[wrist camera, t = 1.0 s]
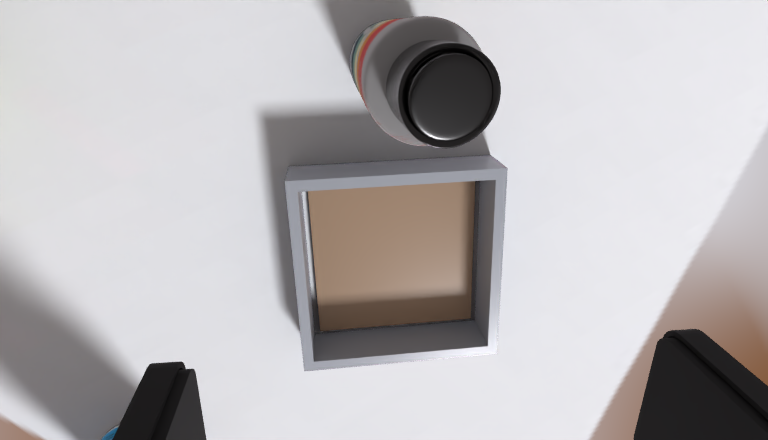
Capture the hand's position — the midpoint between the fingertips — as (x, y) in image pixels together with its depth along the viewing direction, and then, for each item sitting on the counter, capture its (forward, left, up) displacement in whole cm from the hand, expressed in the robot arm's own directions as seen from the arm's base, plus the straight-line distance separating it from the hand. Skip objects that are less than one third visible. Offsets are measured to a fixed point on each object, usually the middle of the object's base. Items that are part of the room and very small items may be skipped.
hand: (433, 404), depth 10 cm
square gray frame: (+10, +3, -30) cm, 32 cm away
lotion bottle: (-5, +3, -30) cm, 31 cm away
